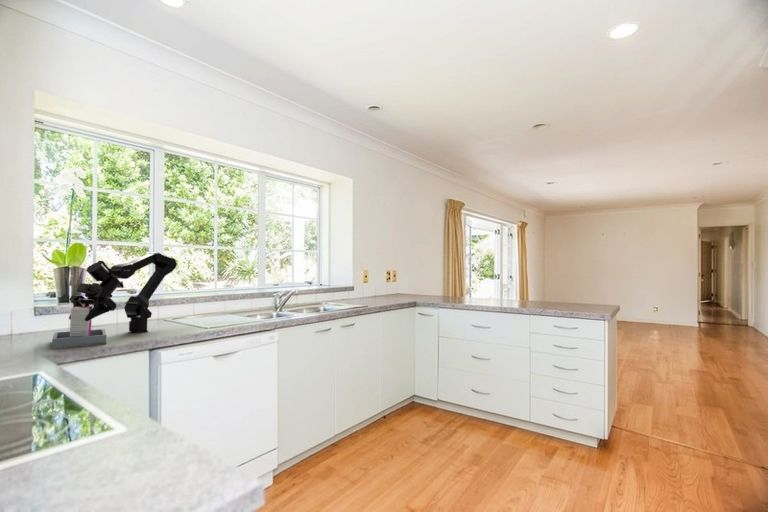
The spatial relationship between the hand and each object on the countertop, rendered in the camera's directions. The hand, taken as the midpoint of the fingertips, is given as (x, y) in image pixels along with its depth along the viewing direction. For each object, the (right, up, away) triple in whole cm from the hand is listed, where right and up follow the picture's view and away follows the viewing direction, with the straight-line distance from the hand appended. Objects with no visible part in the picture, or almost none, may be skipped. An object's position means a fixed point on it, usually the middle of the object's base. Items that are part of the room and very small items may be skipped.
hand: (77, 319), depth 153 cm
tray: (0, -9, +1) cm, 9 cm away
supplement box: (0, -7, +1) cm, 7 cm away
